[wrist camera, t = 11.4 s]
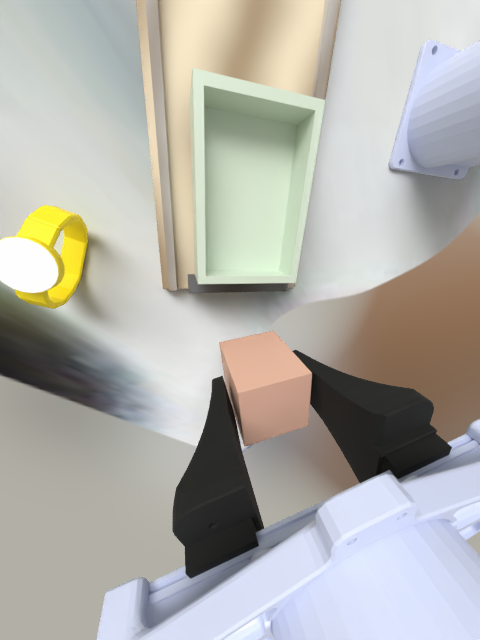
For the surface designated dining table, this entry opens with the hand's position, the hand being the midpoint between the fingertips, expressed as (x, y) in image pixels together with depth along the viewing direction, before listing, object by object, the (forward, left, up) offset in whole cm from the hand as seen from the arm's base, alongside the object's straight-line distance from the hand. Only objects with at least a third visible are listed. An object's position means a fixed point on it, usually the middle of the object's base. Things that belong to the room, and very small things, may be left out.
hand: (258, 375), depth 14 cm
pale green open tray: (0, -10, -7) cm, 13 cm away
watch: (+12, -6, -9) cm, 16 cm away
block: (0, 0, -2) cm, 2 cm away
